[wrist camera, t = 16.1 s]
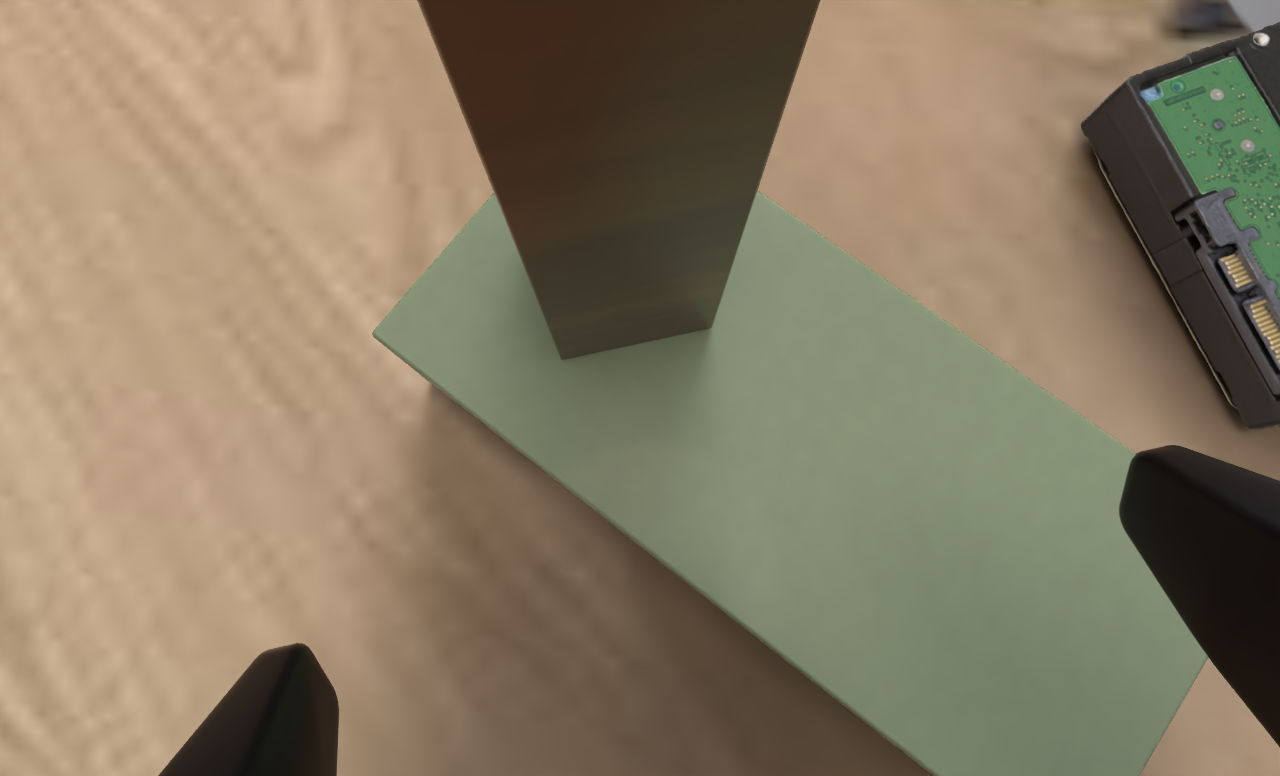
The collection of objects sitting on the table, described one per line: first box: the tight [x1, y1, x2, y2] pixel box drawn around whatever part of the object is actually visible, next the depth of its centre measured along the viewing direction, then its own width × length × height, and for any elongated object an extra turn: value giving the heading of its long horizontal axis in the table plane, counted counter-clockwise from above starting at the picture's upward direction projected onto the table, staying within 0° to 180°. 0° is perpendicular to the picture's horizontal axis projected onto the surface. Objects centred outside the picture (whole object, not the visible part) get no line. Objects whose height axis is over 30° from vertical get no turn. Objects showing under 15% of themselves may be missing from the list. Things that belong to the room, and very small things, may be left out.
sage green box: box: [372, 191, 1208, 776], centre depth 19 cm, size 8×18×5 cm, turn 52°
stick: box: [417, 0, 820, 360], centre depth 11 cm, size 3×3×13 cm
